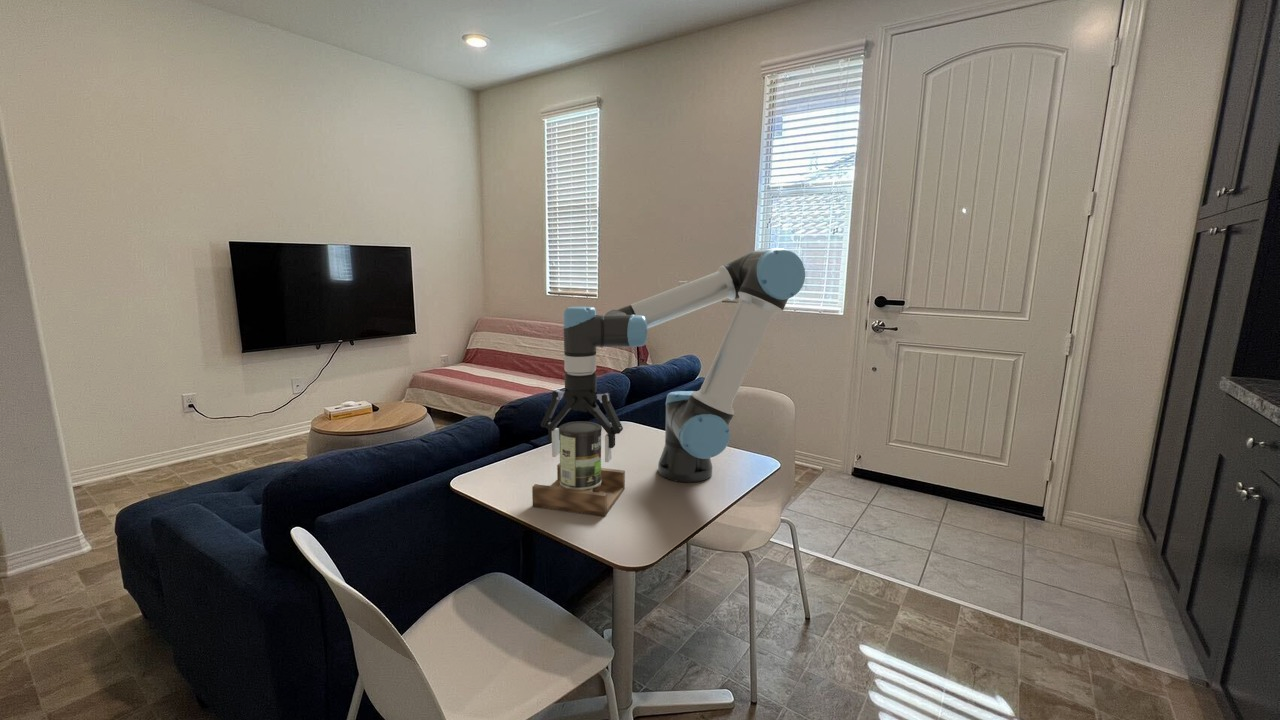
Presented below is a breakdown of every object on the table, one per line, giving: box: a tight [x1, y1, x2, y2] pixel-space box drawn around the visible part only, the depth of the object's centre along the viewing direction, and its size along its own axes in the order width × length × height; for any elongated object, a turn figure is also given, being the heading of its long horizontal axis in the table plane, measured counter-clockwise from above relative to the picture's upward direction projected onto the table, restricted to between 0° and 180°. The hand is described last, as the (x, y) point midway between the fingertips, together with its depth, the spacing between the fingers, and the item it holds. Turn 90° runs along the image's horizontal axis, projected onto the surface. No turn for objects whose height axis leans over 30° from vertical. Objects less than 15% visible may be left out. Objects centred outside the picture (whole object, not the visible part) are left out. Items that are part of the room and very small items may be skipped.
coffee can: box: [558, 420, 603, 490], centre depth 126 cm, size 10×10×14 cm
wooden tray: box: [531, 462, 626, 518], centre depth 128 cm, size 18×16×5 cm
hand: (581, 457), depth 126 cm, fingers open, 13 cm apart
